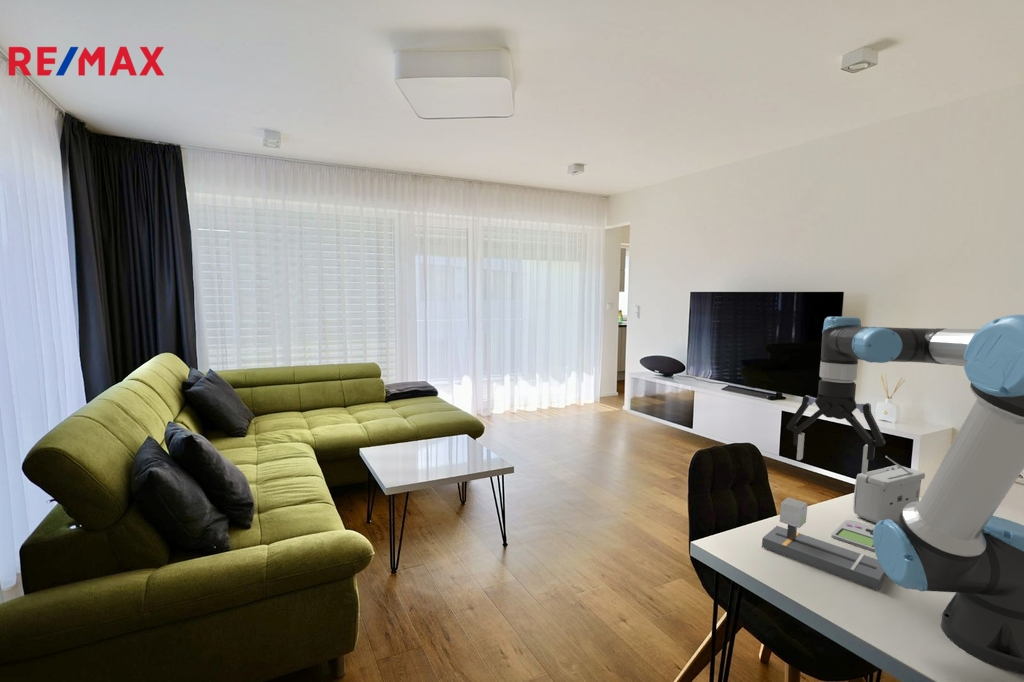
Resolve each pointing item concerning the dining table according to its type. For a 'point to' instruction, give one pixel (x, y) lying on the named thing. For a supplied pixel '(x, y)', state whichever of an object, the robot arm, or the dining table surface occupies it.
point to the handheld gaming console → (855, 534)
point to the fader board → (826, 557)
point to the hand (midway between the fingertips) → (830, 465)
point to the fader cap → (793, 515)
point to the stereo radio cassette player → (886, 492)
